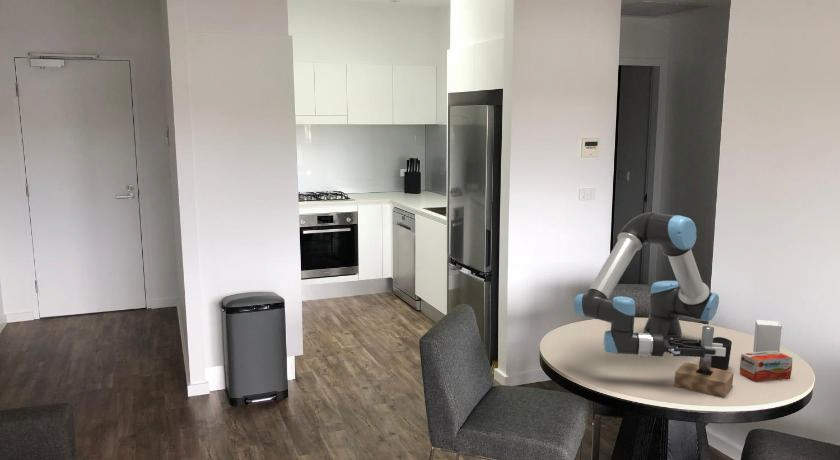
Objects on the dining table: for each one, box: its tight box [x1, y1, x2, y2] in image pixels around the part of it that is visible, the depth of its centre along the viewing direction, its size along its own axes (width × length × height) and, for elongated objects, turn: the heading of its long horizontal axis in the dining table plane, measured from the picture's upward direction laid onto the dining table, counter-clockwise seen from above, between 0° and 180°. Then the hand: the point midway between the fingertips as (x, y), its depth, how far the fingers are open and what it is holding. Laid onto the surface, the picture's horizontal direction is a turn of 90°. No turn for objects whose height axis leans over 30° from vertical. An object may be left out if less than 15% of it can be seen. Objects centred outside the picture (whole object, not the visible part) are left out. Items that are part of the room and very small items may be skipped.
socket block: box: [673, 361, 734, 398], centre depth 232 cm, size 16×12×5 cm
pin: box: [698, 325, 715, 376], centre depth 230 cm, size 4×4×18 cm
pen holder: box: [711, 336, 733, 371], centre depth 250 cm, size 9×9×10 cm
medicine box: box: [739, 351, 793, 382], centre depth 242 cm, size 15×8×8 cm, turn 104°
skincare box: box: [752, 319, 783, 353], centre depth 255 cm, size 8×7×16 cm
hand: (723, 350), depth 229 cm, fingers closed on pin, 3 cm apart
